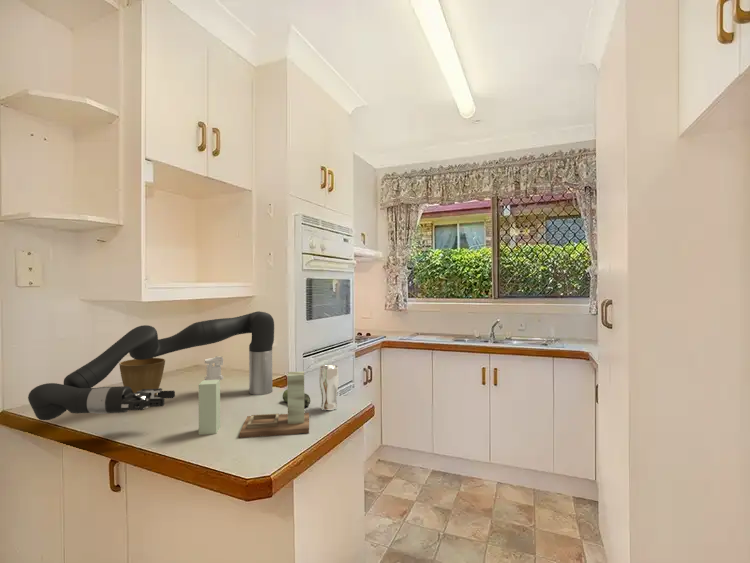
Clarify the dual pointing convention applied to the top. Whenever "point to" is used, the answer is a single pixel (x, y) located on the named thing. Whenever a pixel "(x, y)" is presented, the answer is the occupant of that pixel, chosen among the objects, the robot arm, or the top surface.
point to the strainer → (214, 368)
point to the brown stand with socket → (281, 423)
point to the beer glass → (328, 386)
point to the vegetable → (306, 398)
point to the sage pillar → (209, 407)
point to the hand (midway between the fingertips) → (169, 398)
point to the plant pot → (142, 373)
